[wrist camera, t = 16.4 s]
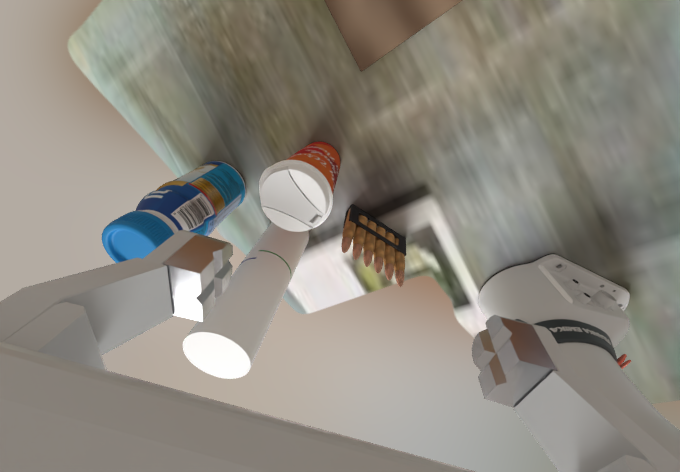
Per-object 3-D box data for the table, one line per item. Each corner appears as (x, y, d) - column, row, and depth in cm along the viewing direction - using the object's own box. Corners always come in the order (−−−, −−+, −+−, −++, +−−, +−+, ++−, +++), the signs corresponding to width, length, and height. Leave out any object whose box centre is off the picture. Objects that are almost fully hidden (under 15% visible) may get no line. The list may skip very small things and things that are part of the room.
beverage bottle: (244, 214, 50) (169, 292, 33) (197, 198, 50) (97, 267, 32) (251, 169, 45) (169, 232, 28) (199, 151, 45) (85, 203, 28)
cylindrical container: (262, 220, 50) (168, 336, 29) (299, 210, 48) (228, 327, 27) (279, 254, 53) (207, 380, 32) (315, 246, 51) (262, 375, 30)
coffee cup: (359, 158, 42) (346, 199, 29) (326, 197, 46) (302, 248, 33) (313, 119, 40) (278, 145, 27) (283, 164, 44) (240, 204, 31)
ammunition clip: (345, 212, 47) (333, 253, 37) (352, 203, 46) (341, 243, 36) (399, 246, 49) (401, 294, 38) (406, 238, 48) (410, 285, 37)
